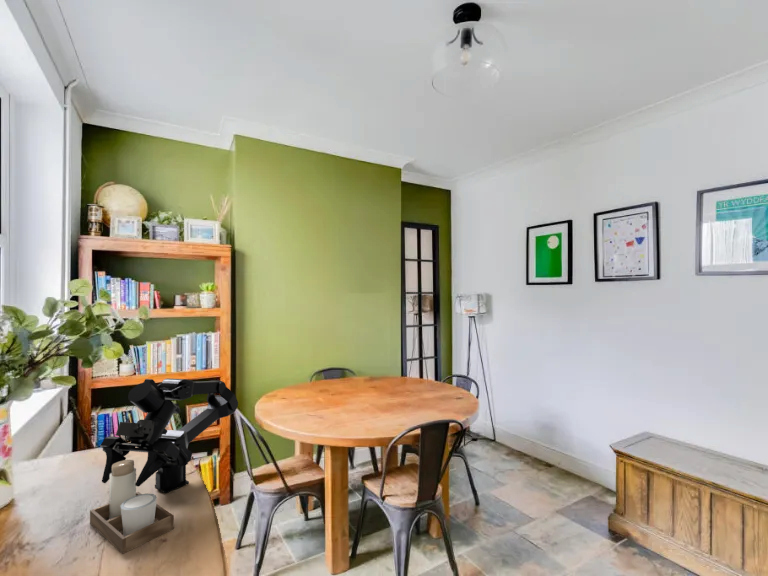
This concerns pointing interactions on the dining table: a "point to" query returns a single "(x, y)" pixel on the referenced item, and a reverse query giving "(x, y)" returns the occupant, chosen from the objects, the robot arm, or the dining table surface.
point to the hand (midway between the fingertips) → (120, 484)
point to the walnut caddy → (134, 539)
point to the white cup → (138, 512)
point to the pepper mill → (121, 485)
